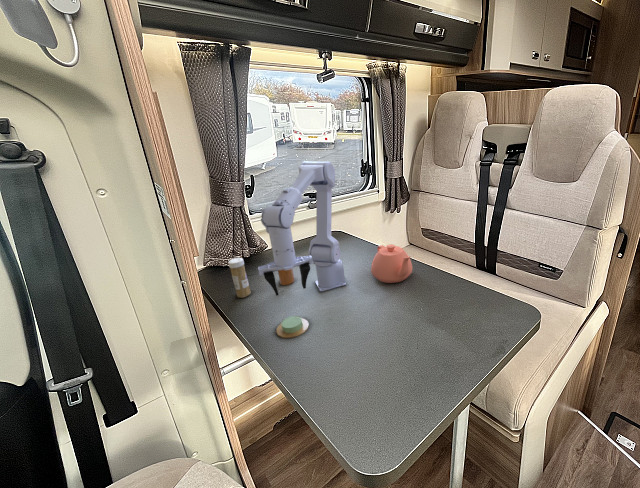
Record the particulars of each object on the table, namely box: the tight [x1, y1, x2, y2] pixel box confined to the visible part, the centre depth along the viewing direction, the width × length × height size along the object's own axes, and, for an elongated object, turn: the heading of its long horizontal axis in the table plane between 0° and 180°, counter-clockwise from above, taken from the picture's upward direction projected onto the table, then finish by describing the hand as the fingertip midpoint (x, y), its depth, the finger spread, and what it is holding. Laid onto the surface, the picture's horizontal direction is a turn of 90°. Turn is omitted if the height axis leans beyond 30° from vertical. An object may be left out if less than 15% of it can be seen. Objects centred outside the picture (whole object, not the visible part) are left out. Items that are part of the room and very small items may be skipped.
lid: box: [281, 315, 303, 333], centre depth 92 cm, size 6×6×2 cm
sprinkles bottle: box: [227, 257, 252, 299], centre depth 108 cm, size 5×5×13 cm
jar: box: [277, 267, 296, 286], centre depth 117 cm, size 5×5×8 cm
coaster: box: [276, 317, 310, 339], centre depth 92 cm, size 9×9×1 cm
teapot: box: [370, 244, 413, 284], centre depth 118 cm, size 22×16×12 cm
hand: (290, 290), depth 93 cm, fingers open, 7 cm apart
